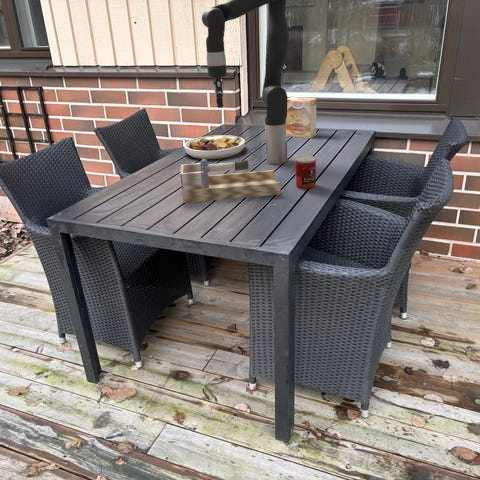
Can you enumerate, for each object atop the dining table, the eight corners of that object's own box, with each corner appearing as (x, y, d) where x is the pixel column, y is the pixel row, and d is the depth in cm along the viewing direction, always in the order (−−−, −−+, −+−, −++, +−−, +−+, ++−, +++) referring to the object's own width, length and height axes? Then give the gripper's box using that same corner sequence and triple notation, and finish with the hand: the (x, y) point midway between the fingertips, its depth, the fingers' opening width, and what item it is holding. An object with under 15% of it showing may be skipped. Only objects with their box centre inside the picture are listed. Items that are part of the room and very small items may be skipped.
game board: (274, 180, 194) (273, 155, 189) (280, 194, 179) (279, 167, 175) (184, 188, 192) (181, 163, 187) (183, 202, 177) (180, 175, 173)
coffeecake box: (285, 136, 258) (284, 99, 250) (291, 133, 263) (291, 96, 255) (310, 138, 250) (310, 100, 242) (316, 135, 255) (316, 98, 247)
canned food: (303, 190, 181) (303, 162, 176) (291, 184, 188) (291, 157, 183) (319, 186, 184) (320, 158, 180) (307, 181, 191) (307, 154, 186)
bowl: (189, 146, 253) (187, 131, 249) (245, 143, 251) (245, 128, 248) (181, 162, 226) (179, 146, 222) (244, 159, 224) (243, 143, 221)
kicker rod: (249, 181, 187) (248, 153, 182) (250, 185, 183) (249, 157, 178) (202, 185, 186) (200, 157, 181) (202, 189, 182) (200, 161, 177)
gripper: (227, 65, 183) (230, 108, 190) (225, 61, 196) (227, 102, 203) (207, 66, 183) (211, 109, 190) (206, 62, 196) (210, 103, 203)
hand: (219, 105), depth 196 cm, fingers open, 8 cm apart
